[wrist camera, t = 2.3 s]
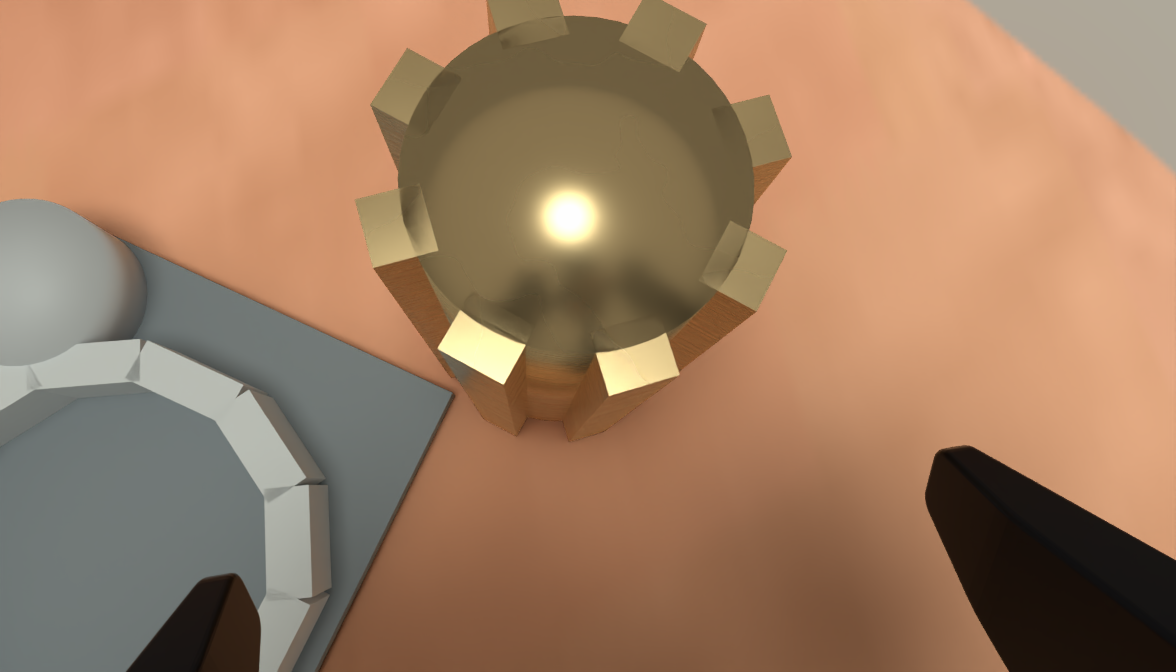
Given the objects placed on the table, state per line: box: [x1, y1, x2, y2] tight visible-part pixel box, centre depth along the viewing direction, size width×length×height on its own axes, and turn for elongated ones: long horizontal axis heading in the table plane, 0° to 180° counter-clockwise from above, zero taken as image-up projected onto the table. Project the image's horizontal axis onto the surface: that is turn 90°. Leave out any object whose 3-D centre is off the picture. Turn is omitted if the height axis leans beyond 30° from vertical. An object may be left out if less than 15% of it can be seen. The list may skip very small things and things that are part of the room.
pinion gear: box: [355, 0, 792, 442], centre depth 17 cm, size 6×6×11 cm
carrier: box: [0, 199, 455, 672], centre depth 19 cm, size 12×12×3 cm
